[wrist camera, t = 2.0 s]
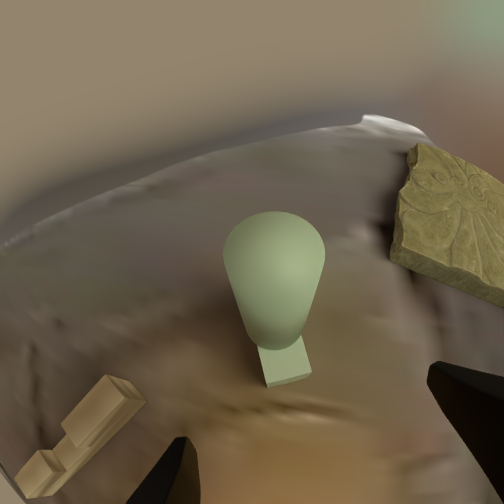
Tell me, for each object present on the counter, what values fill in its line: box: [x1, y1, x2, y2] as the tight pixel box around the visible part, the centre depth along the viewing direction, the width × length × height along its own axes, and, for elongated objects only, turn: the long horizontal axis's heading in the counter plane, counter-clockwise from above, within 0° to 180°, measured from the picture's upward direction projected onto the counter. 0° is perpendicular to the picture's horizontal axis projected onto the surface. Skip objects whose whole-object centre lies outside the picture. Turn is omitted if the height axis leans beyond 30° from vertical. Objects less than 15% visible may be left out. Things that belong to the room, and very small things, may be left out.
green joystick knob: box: [223, 211, 325, 388], centre depth 16 cm, size 8×4×13 cm, turn 12°
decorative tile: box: [390, 143, 504, 308], centre depth 26 cm, size 19×20×4 cm
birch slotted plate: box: [14, 374, 147, 499], centre depth 15 cm, size 2×18×4 cm, turn 141°
